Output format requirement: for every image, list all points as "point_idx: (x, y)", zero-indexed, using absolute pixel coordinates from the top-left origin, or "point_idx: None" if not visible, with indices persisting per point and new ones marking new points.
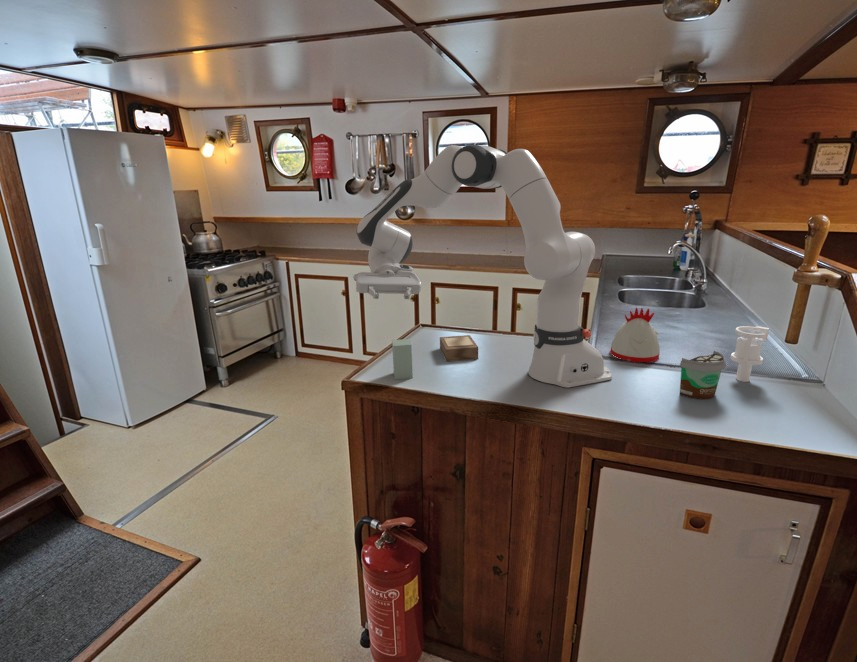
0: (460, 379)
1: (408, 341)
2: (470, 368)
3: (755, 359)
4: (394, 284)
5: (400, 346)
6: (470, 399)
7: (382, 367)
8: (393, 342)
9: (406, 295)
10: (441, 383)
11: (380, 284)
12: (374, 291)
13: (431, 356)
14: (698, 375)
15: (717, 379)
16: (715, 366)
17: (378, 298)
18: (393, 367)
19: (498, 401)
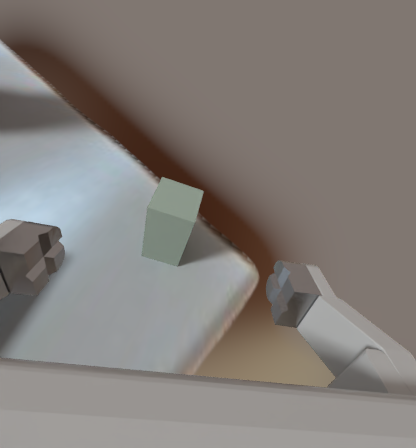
0: (78, 183)
1: (158, 195)
2: (12, 207)
3: None
4: (59, 365)
5: (187, 187)
6: (115, 141)
7: (191, 306)
8: (196, 207)
9: (48, 225)
10: (119, 188)
11: (308, 387)
12: (325, 290)
13: (26, 324)
14: None
15: None
16: None
17: (267, 281)
18: (179, 260)
19: (86, 123)
